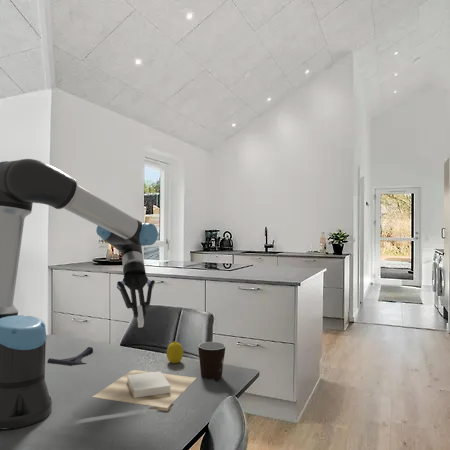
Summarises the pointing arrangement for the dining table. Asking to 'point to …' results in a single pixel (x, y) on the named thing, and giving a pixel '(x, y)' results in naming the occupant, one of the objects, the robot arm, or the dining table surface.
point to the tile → (148, 384)
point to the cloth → (161, 401)
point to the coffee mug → (211, 359)
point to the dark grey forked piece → (73, 358)
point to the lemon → (174, 352)
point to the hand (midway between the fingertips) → (141, 325)
